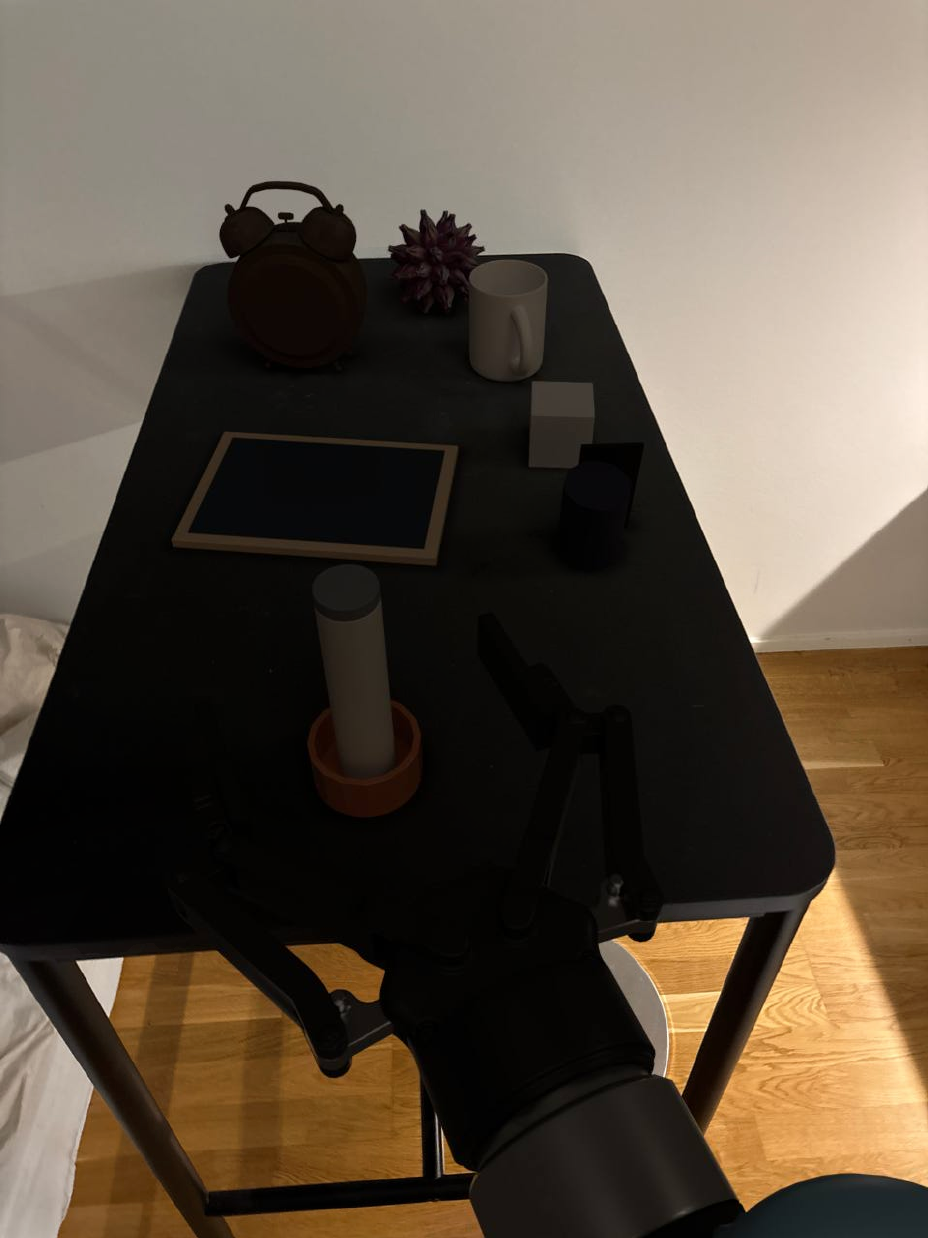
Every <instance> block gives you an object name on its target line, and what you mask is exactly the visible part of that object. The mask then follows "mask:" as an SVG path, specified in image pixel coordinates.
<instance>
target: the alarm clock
mask: <svg viewBox="0 0 928 1238" xmlns="http://www.w3.org/2000/svg"><path fill="white" fill-rule="evenodd" d="M268 190H269V191H270V190H283V191H284V190H285V191H286V190H287V191H297V192H302V193H305V194H308V195H312V196H313V197H315V198H316V200H318V202H319V203H320V205H321V206H316V207H314V208H313V207H312V209H311V210H309V212H308V213H307V214H305V215H304V217H303V218H302V220H301V221H293V220H295V214H294V213H293V212H286V211H280V212H278V213H277V219H278V220H281V221H284V222H280V223H275V222H274V221H273V220H272V218H271V217H270V216H269V215H268V214H267V213H266V212H265V211H263V210H262V209H261V208H259V207H256V206H252V205H248V203H249V201H250V199H251V197H252V195H253V194H255V193H259V192H262V191H268ZM247 205H248V206H247ZM344 211H345V207H344V205H343V204H342V203H338V204H337V205H335V207H333V205H332V204H331V202H330V201H329V199H328V198H327V197H326V195H325V194H324V192H323V191H322V190H321V189H319V188H318V187H317V186H315V185H311V184H308V183H304V182H299V181H291V180H269V181H267V180H266V181H263V182H259V183H256V184H252V185H251V186H250V187H249V188H248V189H247V190H246V192H245V194H244V196H243V198H242V200H241V203H240V205H239V207H238V208H237V209H235V208H234V206H233V205H232V204H230V203H226V204H224V212H225V213H226V214H227V215H226V216H225V217H224V220H223V221H222V223H221V226H220V228H219V233H218V237H219V241H220V244H221V247H222V248H223V251H224V253H225V254H226V256H227V257H228V259H235V258H237V259H236V261H235V264H234V266H233V269H232V272H231V275H230V277H229V280H228V285H227V290H226V291H227V292H226V296H227V297H226V298H227V304H228V305H227V307H228V310H229V314H230V316H231V320H232V322H233V324H234V326H235V327H236V329H237V331H238V332H239V334H240V336H241V337H243V339H244V340H245V341H246V343H248V345H249V346H251V347H252V348H253V349H254V350H255V351H257V352H258V353H260V355H262V356H264V357H266V358H267V362H265V363H264V367H265V368H267V369H270V368H271V367H272V365H271V364H272V363H273V362H276V363H278V364H280V365H284V366H288V367H292V368H303V369H305V368H306V369H307V368H309V369H310V368H317V367H321V366H325V365H326V364H329V363H331V364H332V365H333V366H334V367H335V371H336V372H341V371H342V366H340V365H339V363H338V360H337V359H339V358H340V357H341V356H342V355H343V354H345V353H346V355H347V356H348V357H350V356H351V357H352V355H353V353H354V352H353V350H352V349H350V347H351V345H352V343H353V342H354V340H355V338H356V336H357V334H358V333H359V331H360V329H361V327H362V324H363V321H364V317H365V313H366V306H367V297H368V286H367V280H366V275H365V272H364V270H363V267H362V264H361V263H360V261H359V259H358V257H357V256H356V255H355V253H354V250H355V248H356V244H357V237H358V236H357V230H356V227H355V225H354V223H353V220H351V218H350V217H349V216H348V214H346V213H344Z"/></svg>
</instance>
